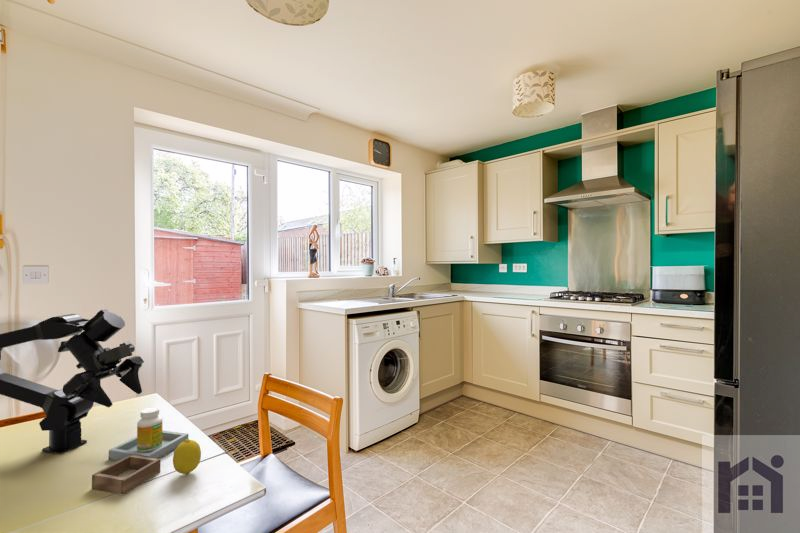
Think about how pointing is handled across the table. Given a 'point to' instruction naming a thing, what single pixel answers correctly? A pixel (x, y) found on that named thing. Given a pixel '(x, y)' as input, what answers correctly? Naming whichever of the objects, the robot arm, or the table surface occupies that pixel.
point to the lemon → (186, 456)
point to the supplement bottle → (149, 430)
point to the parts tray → (130, 448)
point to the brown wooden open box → (119, 485)
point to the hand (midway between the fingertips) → (126, 399)
